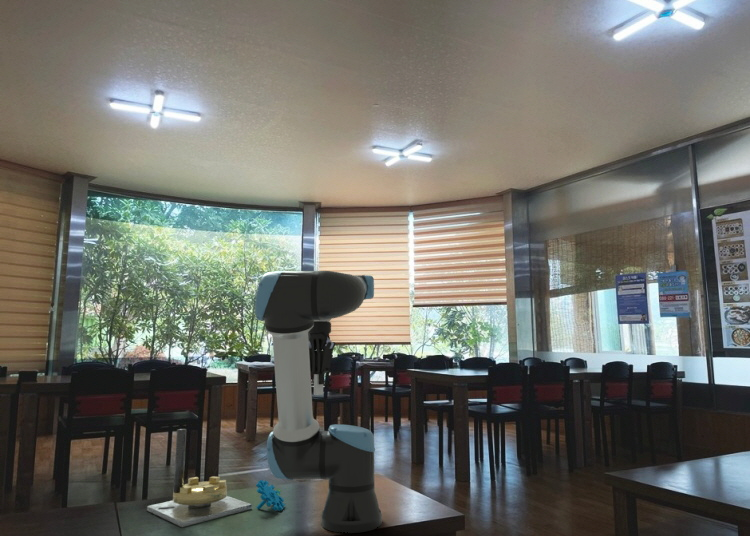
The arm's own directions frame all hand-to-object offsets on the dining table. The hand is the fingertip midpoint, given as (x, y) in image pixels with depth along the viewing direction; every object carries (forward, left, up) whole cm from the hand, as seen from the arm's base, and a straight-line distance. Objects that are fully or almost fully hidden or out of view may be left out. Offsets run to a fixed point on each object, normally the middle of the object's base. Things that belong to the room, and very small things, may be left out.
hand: (318, 394), depth 162 cm
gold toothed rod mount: (+9, +35, -26) cm, 44 cm away
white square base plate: (+9, +35, -29) cm, 46 cm away
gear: (-5, +21, -29) cm, 37 cm away
